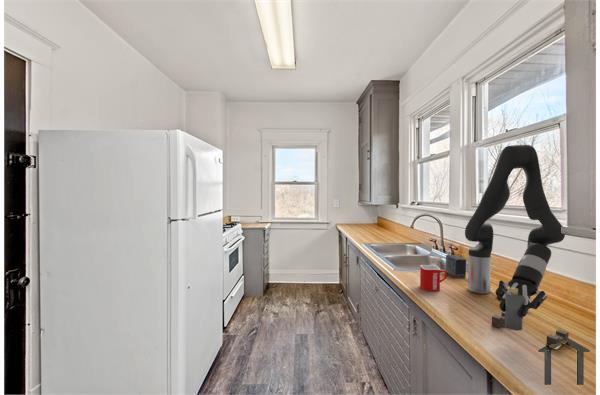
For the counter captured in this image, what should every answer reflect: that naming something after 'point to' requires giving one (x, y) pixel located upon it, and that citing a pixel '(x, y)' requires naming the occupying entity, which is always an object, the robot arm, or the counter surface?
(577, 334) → the counter surface
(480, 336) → the counter surface
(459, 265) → the small box
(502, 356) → the counter surface
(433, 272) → the mug
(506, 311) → the grey cylindrical bottle
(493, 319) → the notched blocks
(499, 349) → the counter surface
